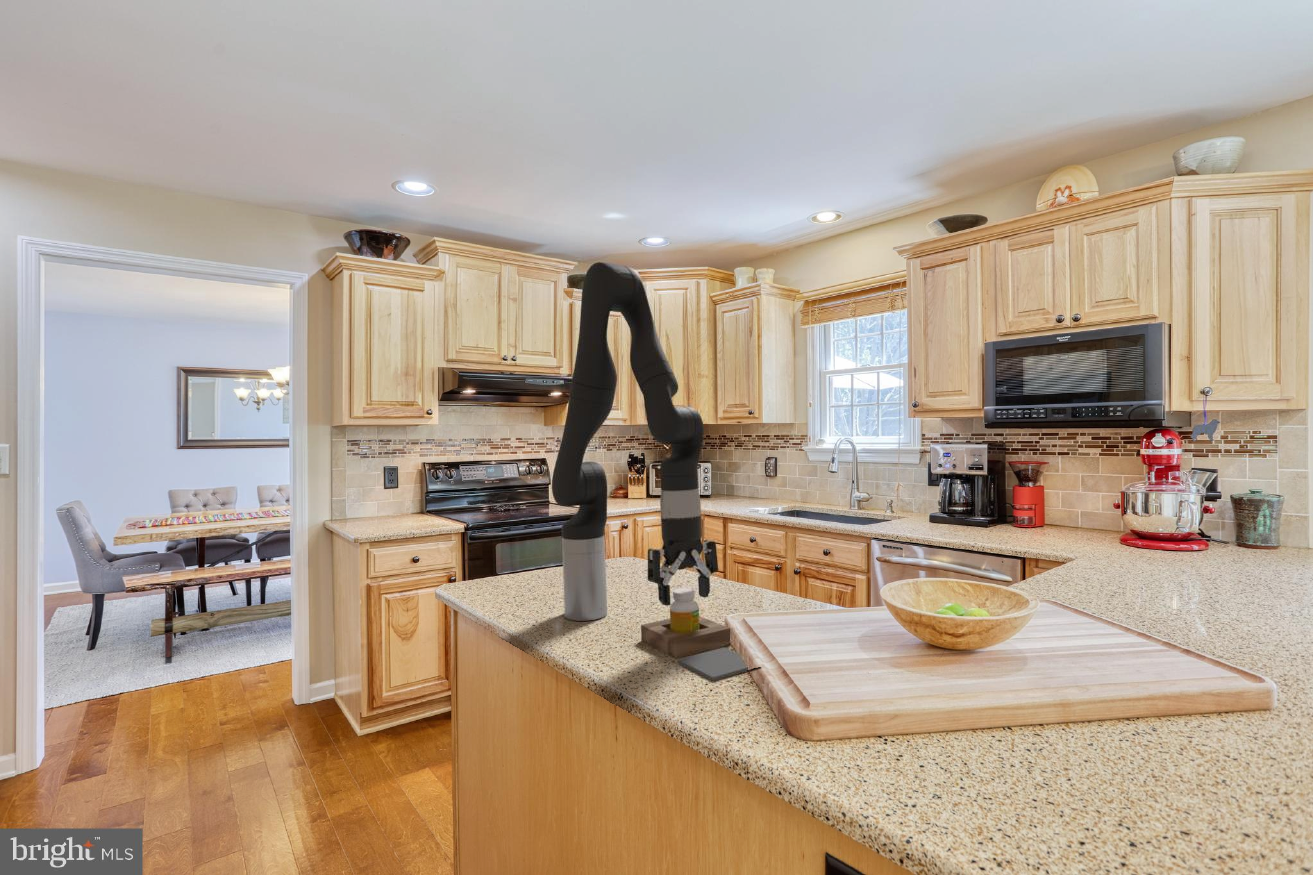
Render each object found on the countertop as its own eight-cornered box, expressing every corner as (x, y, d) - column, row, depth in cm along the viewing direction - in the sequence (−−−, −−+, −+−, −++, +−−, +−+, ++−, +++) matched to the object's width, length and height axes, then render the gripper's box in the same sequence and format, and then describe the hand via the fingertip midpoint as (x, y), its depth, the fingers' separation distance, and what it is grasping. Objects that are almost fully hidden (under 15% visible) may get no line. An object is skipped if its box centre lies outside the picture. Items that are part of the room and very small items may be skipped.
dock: (641, 640, 125) (640, 624, 125) (693, 628, 131) (692, 613, 131) (676, 658, 115) (675, 641, 115) (730, 644, 121) (730, 628, 121)
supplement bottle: (697, 647, 120) (695, 594, 120) (668, 646, 121) (666, 594, 121) (701, 638, 125) (699, 587, 125) (673, 637, 126) (672, 587, 126)
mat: (678, 662, 112) (677, 659, 112) (724, 650, 118) (724, 647, 118) (713, 681, 104) (713, 677, 104) (761, 666, 109) (761, 663, 109)
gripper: (700, 508, 129) (704, 590, 129) (637, 516, 122) (641, 603, 122) (723, 511, 123) (727, 597, 123) (659, 519, 116) (663, 611, 116)
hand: (684, 600), depth 122 cm, fingers open, 8 cm apart
